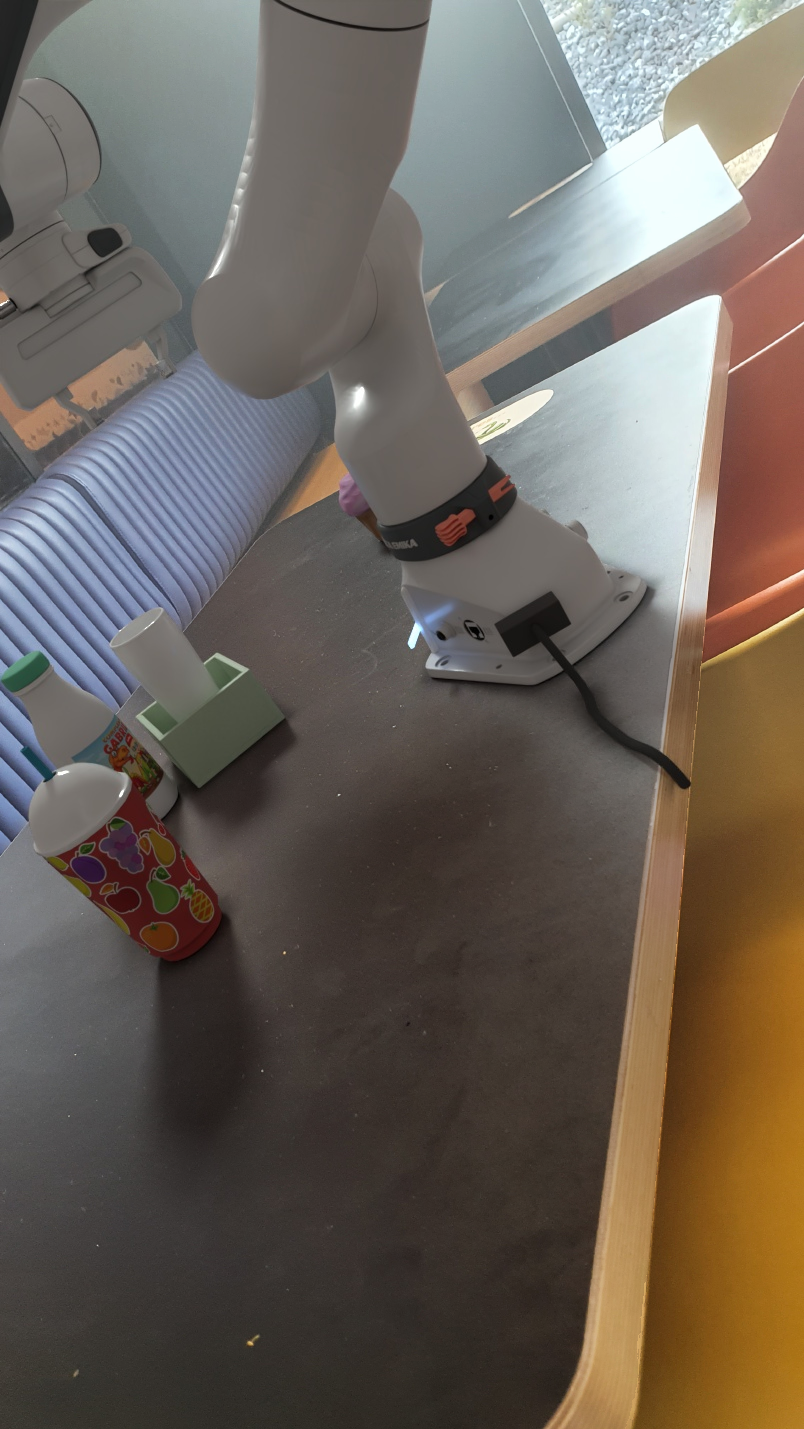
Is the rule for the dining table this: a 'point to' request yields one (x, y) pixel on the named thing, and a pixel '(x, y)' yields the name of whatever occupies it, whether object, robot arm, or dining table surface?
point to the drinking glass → (164, 663)
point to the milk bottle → (84, 729)
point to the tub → (215, 722)
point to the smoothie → (121, 857)
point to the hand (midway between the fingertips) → (134, 400)
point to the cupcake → (357, 505)
